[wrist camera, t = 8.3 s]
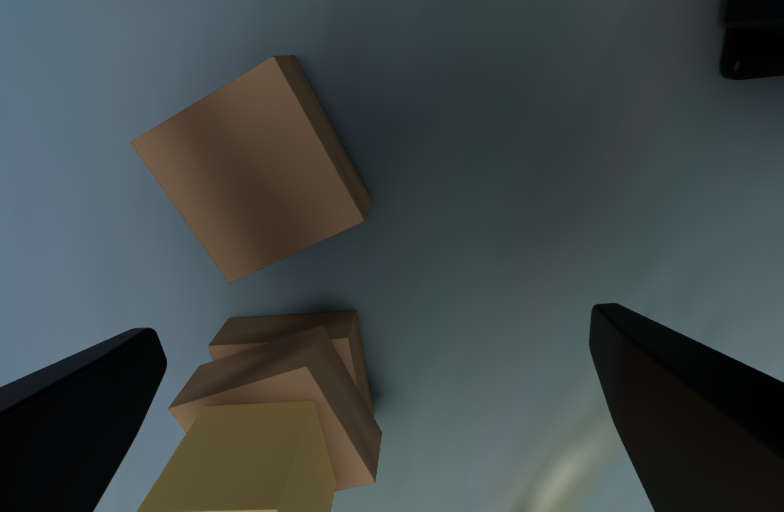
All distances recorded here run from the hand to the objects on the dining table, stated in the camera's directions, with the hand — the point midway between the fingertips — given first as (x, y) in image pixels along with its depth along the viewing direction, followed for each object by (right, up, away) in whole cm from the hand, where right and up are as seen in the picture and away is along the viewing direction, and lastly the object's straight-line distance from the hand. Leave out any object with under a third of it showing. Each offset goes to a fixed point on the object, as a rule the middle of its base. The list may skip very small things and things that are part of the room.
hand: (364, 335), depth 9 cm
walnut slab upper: (-5, -6, +14) cm, 16 cm away
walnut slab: (-5, +6, +12) cm, 14 cm away
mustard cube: (-5, -7, +11) cm, 14 cm away
